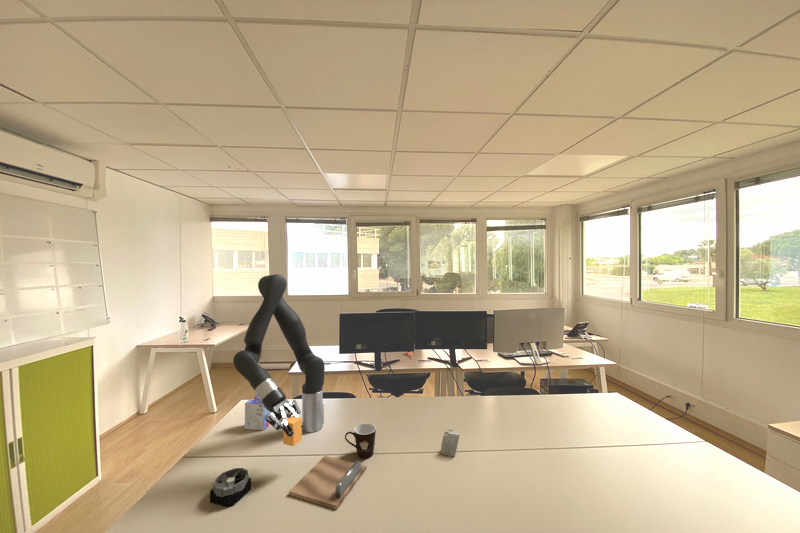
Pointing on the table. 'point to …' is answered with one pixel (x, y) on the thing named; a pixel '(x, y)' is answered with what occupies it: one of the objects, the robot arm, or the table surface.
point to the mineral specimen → (450, 442)
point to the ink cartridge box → (256, 415)
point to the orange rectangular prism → (297, 428)
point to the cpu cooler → (230, 487)
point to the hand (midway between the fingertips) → (296, 431)
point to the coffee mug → (364, 439)
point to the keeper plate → (329, 481)
